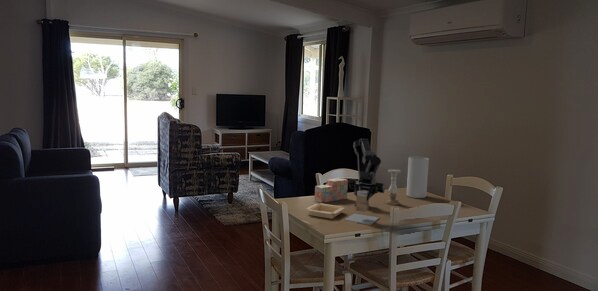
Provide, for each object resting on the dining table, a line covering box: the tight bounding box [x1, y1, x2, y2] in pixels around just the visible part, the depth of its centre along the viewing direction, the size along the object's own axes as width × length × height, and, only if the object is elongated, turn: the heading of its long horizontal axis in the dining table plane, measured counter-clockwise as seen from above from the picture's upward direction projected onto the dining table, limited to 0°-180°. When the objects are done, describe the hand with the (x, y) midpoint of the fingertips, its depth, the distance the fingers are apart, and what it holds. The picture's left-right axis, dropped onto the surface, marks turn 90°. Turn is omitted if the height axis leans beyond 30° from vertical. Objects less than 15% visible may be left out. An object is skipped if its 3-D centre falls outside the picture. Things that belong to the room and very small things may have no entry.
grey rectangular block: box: [355, 190, 370, 213], centre depth 234 cm, size 5×5×10 cm
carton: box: [305, 202, 345, 219], centre depth 242 cm, size 17×17×4 cm
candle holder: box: [384, 168, 402, 206], centre depth 272 cm, size 9×9×20 cm
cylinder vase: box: [406, 156, 430, 199], centre depth 292 cm, size 12×12×25 cm
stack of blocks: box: [314, 177, 349, 204], centre depth 276 cm, size 21×6×12 cm, turn 128°
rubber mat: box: [344, 213, 380, 226], centre depth 235 cm, size 14×14×1 cm
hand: (362, 199), depth 233 cm, fingers closed on grey rectangular block, 5 cm apart
